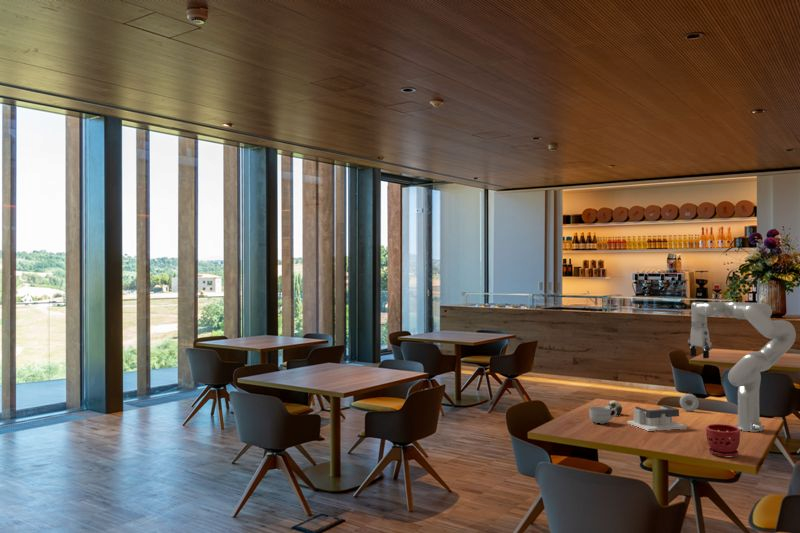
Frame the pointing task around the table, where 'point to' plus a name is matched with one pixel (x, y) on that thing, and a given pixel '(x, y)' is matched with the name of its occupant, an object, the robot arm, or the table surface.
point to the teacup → (601, 414)
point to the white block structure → (654, 422)
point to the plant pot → (723, 439)
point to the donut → (693, 398)
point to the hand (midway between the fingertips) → (699, 357)
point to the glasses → (660, 412)
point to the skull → (614, 407)
